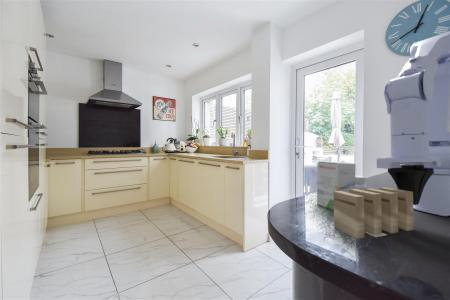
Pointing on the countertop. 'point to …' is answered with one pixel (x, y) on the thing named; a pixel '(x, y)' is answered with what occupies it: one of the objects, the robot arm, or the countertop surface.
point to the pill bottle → (360, 183)
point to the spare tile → (371, 211)
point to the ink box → (333, 181)
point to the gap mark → (376, 235)
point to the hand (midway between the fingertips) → (410, 203)
